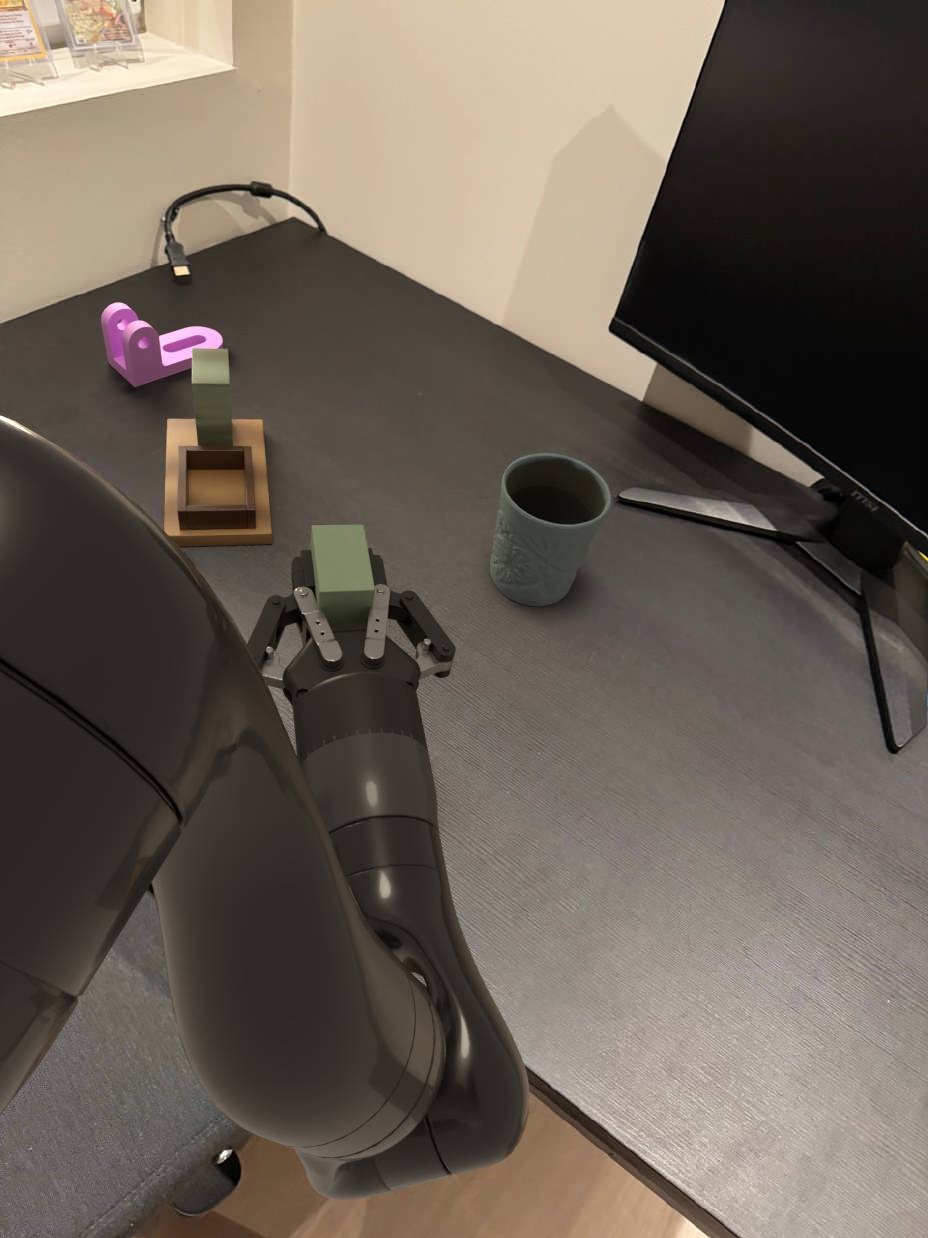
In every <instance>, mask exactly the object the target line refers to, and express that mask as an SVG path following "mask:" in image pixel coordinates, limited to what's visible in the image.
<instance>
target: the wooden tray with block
mask: <svg viewBox="0 0 928 1238" xmlns="http://www.w3.org/2000/svg"><path fill="white" fill-rule="evenodd" d="M191 388H192V400H193V409H194V418H167V419H166V440H165V442H166V443H165V473H164V475H165V478H164V506H163V507H164V508H163V509H164V510H163V511H164V512H163V530H164V531H165V532H166V533H167V534H168V535H169V536H170V537H171V538H172V540H173V541H174V542H175V543H176V544H177V545H178V546H179V547H180V548H181V547H211V546H212V547H213V546H215V547H216V546H217V547H219V546H249V545H250V546H251V545H272V544H273V531H272V518H271V505H270V493H269V481H268V480H269V479H268V469H267V458H266V446H265V433H264V432H265V431H264V421H263V419H253V418H252V419H249V418H248V419H247V418H246V419H244V418H243V419H242V418H241V419H240V418H239V419H236V418H234V419H233V412H232V394H231V375H230V356H229V349H228V348H223V349H209V348H192V368H191Z"/></svg>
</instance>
